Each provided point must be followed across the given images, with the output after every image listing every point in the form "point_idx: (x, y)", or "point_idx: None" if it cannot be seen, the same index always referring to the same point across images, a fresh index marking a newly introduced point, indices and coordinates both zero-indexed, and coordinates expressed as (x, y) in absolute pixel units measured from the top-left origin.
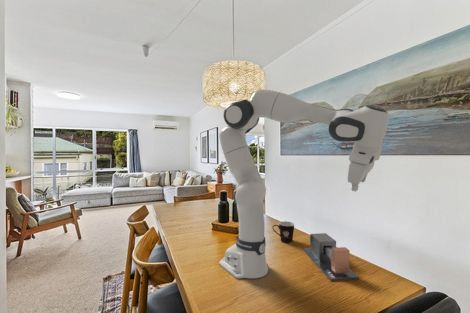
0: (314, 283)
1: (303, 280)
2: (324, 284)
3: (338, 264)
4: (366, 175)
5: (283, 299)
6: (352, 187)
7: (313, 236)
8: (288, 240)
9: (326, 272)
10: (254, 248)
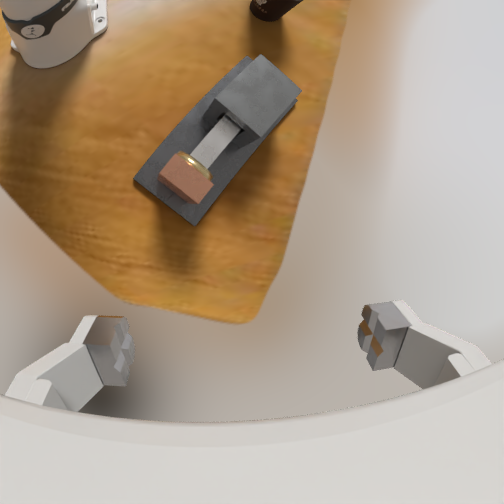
0: (95, 157)
1: (89, 133)
2: (108, 176)
3: (165, 183)
4: (417, 382)
5: (4, 151)
6: (77, 336)
7: (245, 68)
8: (258, 12)
9: (154, 157)
10: (11, 28)
